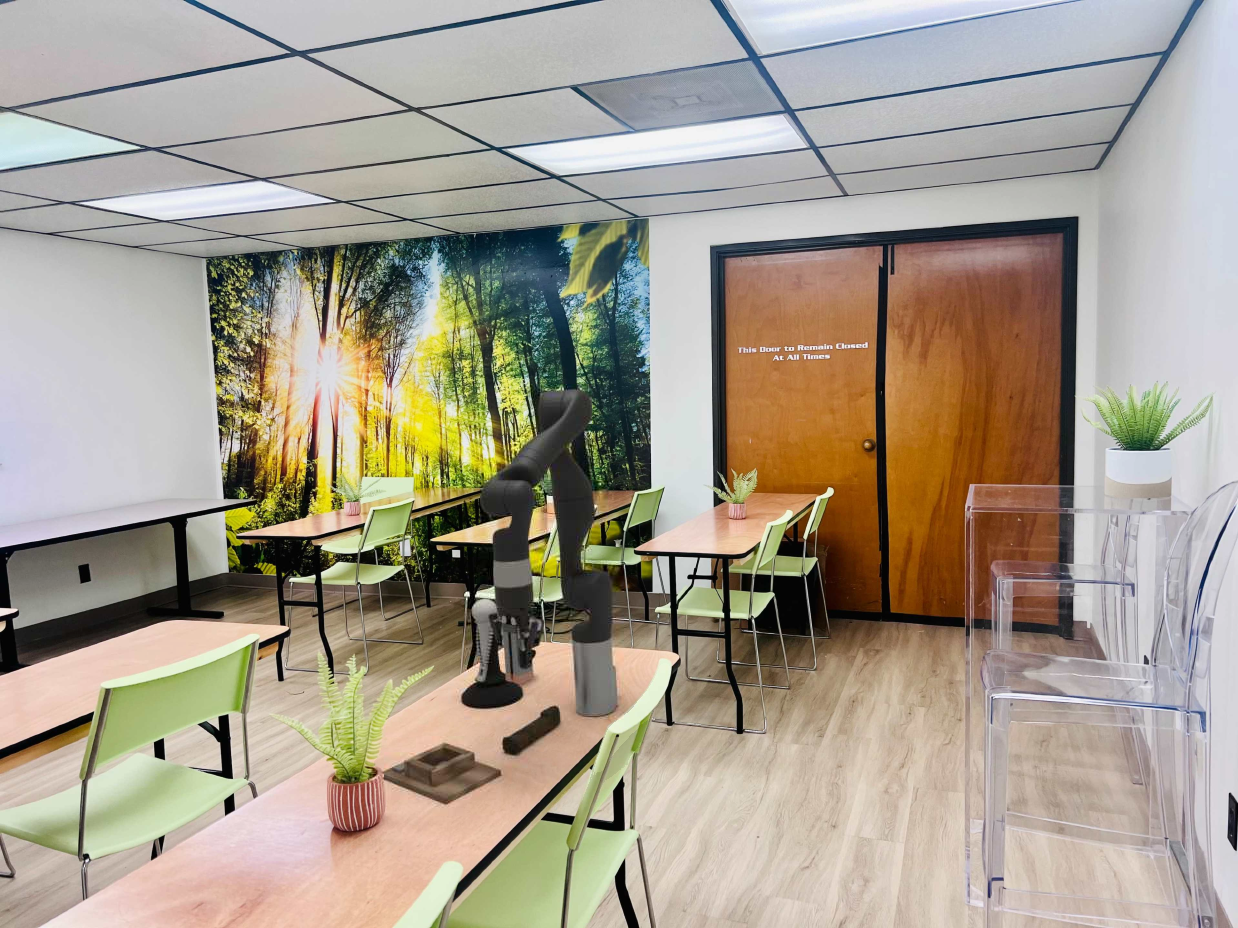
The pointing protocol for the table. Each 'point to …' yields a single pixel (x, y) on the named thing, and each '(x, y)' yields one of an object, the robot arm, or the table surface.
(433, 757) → the stand
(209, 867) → the table surface
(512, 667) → the grey square peg
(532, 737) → the dark wooden branch
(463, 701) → the sculpture
